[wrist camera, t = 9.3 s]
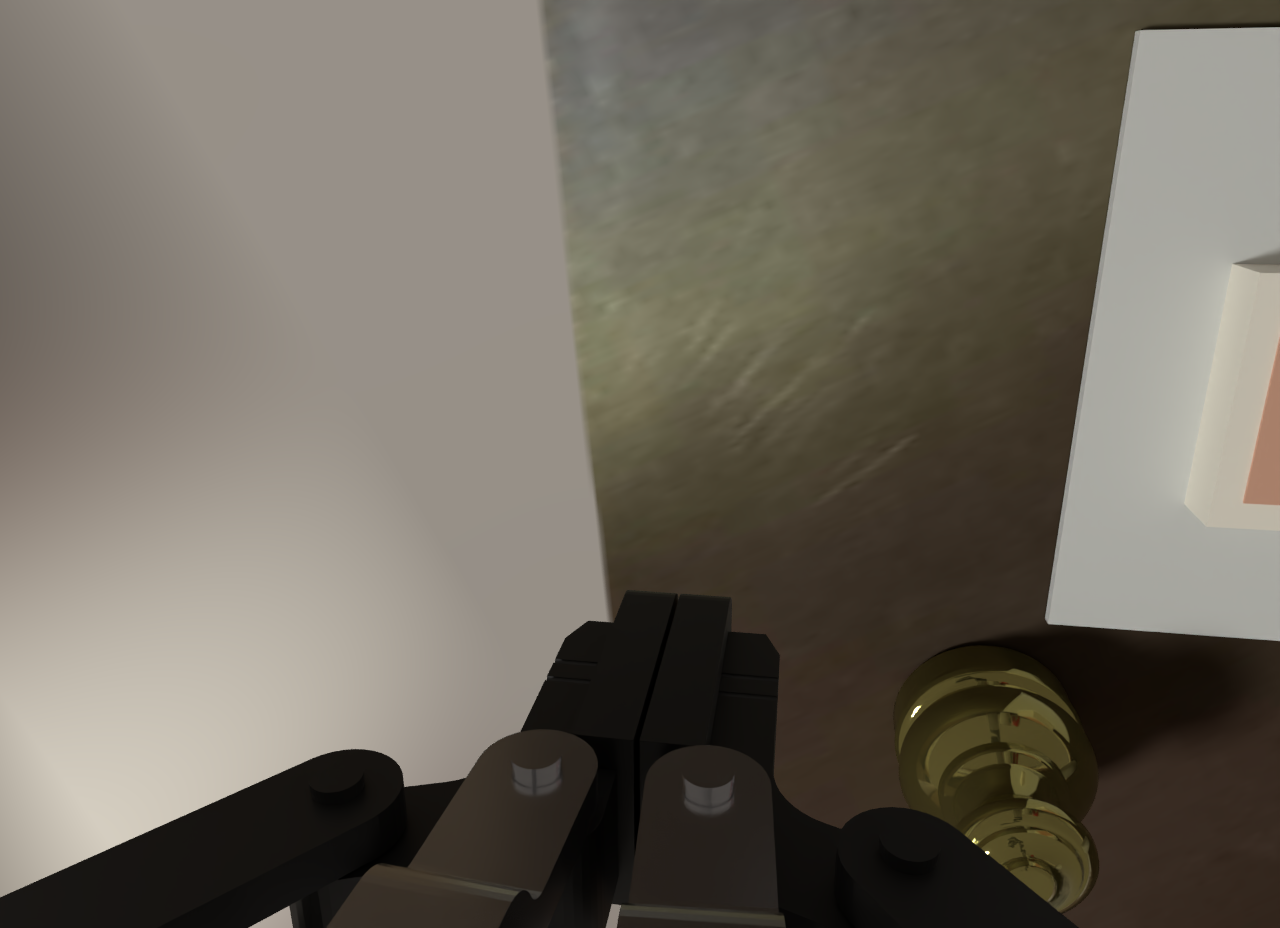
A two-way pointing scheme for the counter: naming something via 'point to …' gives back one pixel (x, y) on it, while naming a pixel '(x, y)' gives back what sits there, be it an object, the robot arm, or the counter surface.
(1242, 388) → the box
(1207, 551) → the mat
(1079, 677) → the counter surface
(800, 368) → the counter surface
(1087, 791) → the gold tall rounded piece
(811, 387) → the counter surface
